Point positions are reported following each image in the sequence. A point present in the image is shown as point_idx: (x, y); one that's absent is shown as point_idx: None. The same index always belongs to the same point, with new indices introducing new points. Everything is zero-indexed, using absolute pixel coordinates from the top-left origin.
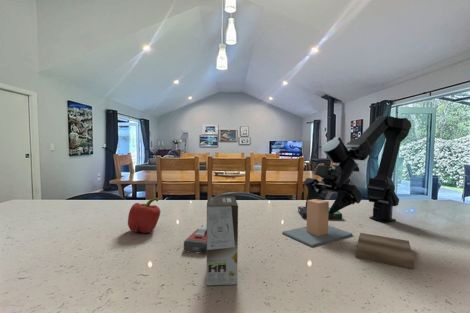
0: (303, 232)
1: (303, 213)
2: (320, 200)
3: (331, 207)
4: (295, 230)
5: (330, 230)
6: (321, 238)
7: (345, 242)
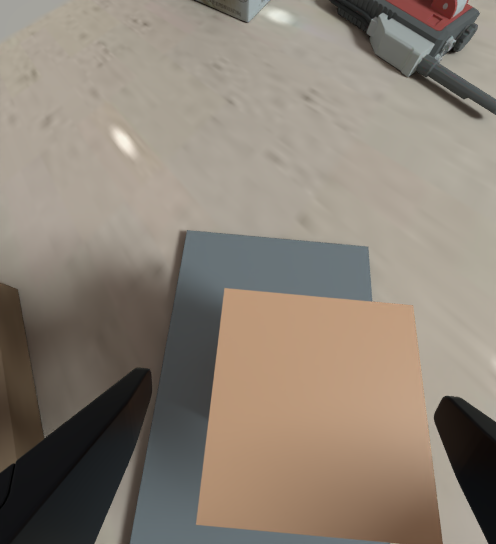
0: None
1: None
2: (323, 471)
3: (115, 406)
4: None
5: None
6: (202, 327)
7: None
